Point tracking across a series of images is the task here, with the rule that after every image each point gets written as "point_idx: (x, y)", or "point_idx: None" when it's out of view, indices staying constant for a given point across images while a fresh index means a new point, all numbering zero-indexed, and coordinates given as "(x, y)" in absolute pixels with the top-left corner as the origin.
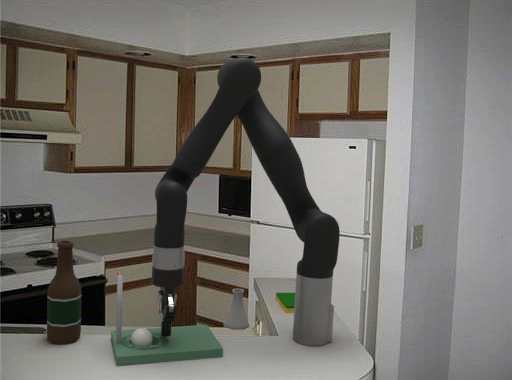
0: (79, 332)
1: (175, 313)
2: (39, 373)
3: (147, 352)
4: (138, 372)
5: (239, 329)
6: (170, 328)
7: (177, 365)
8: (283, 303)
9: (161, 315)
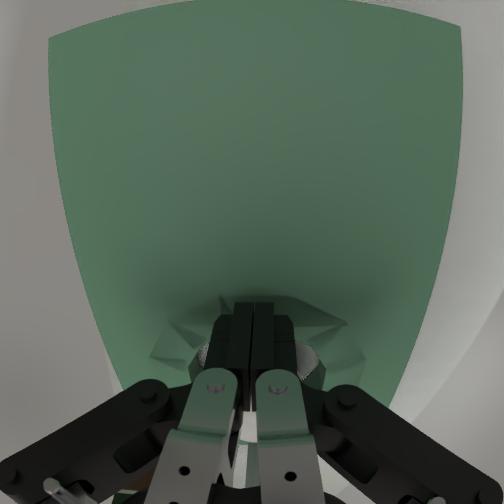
0: (154, 468)
1: (444, 449)
2: (335, 489)
3: (382, 379)
4: (436, 373)
5: None
6: (273, 334)
7: (455, 261)
8: None
9: (237, 441)
